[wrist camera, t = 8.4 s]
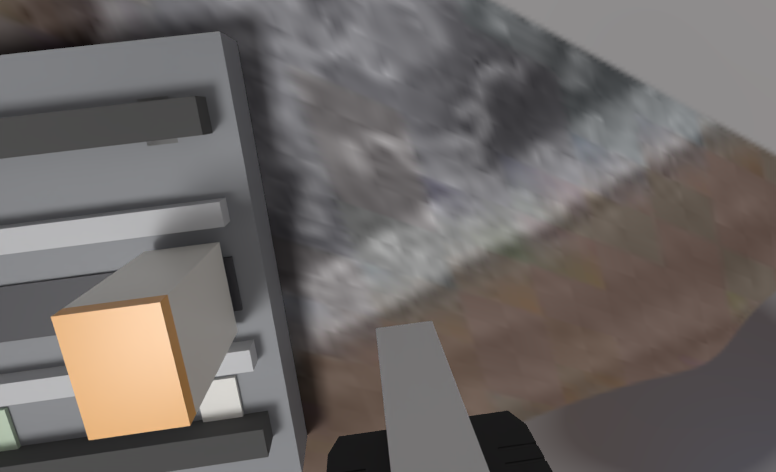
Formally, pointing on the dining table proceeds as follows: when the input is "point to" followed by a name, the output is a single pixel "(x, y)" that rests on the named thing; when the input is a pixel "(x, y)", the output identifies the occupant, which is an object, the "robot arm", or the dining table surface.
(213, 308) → the orange-topped grey block
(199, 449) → the dark grey rail
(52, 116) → the dark grey bar
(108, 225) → the panel
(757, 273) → the dining table surface
